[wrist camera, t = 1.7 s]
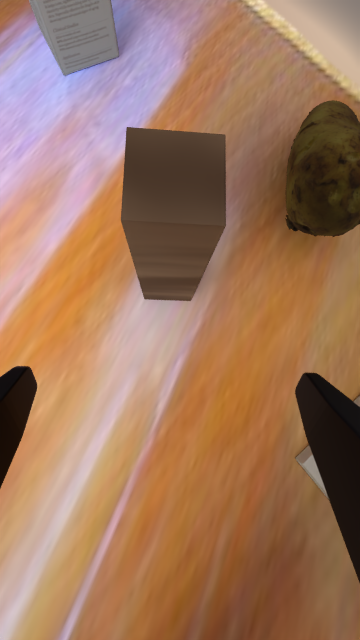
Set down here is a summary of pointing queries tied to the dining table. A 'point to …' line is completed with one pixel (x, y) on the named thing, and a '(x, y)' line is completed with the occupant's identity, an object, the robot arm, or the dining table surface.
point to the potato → (325, 172)
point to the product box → (77, 31)
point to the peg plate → (310, 465)
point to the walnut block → (173, 207)
